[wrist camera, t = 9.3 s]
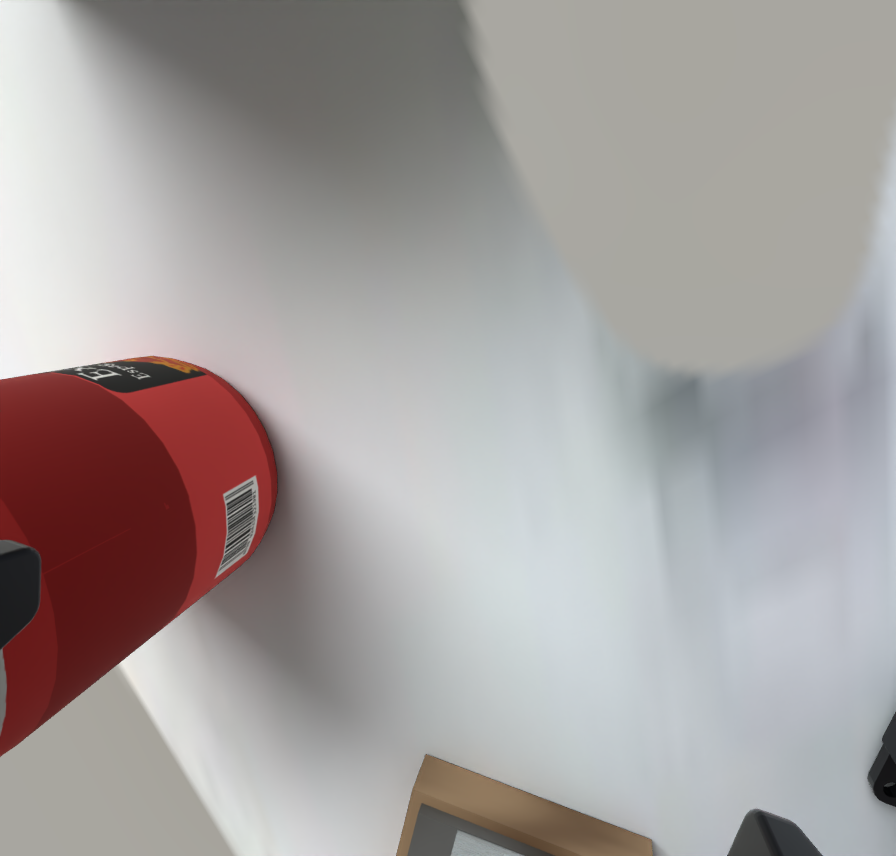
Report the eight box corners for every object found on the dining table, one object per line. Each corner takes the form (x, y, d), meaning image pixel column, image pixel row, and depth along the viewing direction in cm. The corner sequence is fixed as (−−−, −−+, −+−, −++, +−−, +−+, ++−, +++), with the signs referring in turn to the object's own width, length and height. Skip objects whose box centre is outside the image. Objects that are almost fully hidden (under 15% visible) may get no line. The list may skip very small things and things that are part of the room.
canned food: (209, 311, 20) (-215, 347, 10) (327, 524, 21) (53, 768, 10) (56, 411, 23) (-414, 525, 12) (167, 598, 23) (-185, 855, 13)
